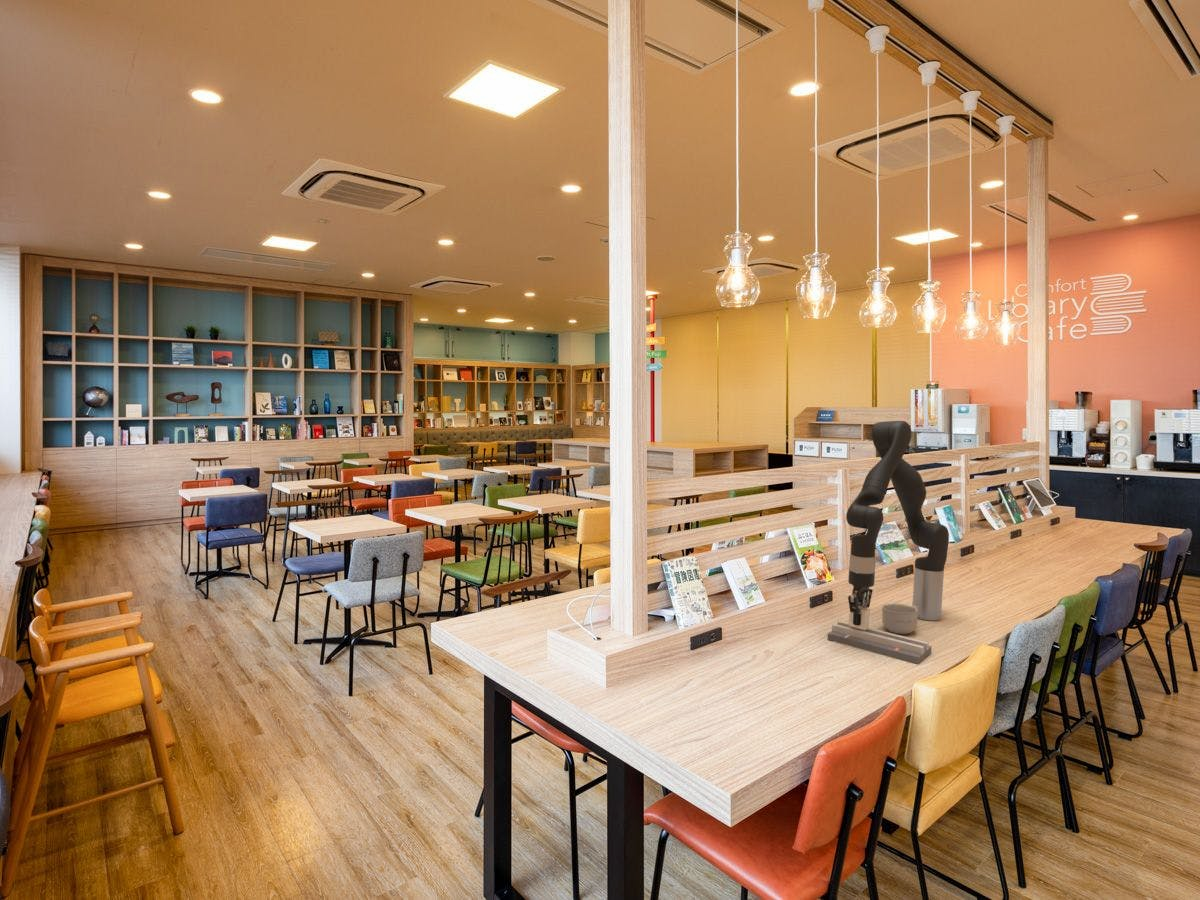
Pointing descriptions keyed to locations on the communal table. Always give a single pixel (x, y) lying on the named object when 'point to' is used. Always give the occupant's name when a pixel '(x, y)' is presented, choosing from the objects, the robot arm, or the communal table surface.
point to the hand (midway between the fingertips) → (859, 623)
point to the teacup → (900, 618)
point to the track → (878, 648)
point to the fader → (864, 620)
